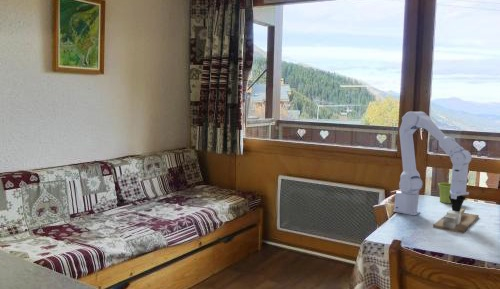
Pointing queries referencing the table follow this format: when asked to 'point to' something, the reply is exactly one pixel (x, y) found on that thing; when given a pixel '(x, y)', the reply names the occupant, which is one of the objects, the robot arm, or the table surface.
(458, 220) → the sleeve
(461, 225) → the board
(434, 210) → the table surface
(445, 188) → the plant pot
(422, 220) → the table surface
